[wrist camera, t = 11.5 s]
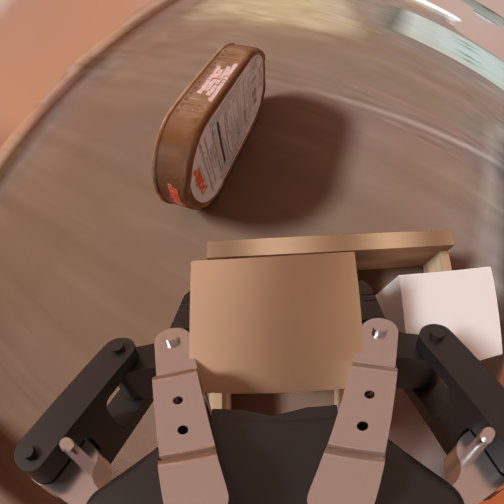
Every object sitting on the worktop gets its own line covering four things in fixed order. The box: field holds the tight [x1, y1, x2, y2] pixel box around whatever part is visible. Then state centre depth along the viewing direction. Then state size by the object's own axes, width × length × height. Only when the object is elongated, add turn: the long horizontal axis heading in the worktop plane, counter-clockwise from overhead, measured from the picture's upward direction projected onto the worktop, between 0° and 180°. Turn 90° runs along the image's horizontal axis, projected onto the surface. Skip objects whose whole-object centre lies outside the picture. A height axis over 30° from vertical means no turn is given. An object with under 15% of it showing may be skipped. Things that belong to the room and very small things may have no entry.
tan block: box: [189, 252, 364, 394], centre depth 13 cm, size 5×4×9 cm
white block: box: [375, 267, 503, 360], centre depth 14 cm, size 5×4×9 cm
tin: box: [152, 43, 265, 209], centre depth 22 cm, size 15×3×8 cm, turn 159°
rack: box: [207, 230, 455, 411], centre depth 17 cm, size 15×12×4 cm
